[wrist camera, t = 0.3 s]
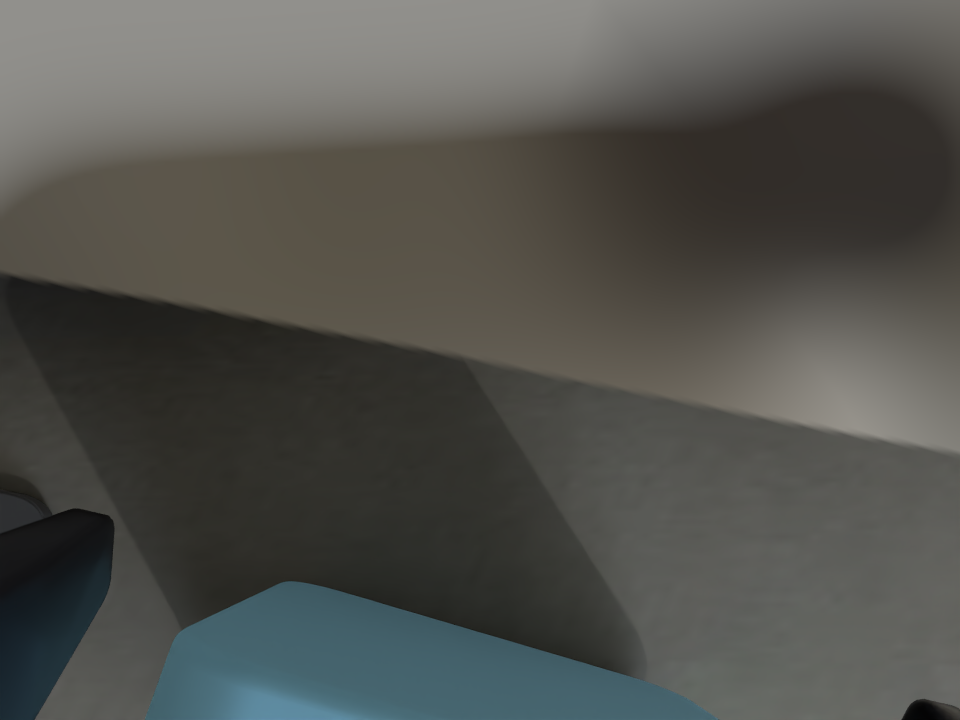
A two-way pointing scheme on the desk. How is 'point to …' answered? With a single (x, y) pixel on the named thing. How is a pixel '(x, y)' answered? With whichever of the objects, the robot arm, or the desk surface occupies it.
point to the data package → (381, 669)
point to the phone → (19, 510)
